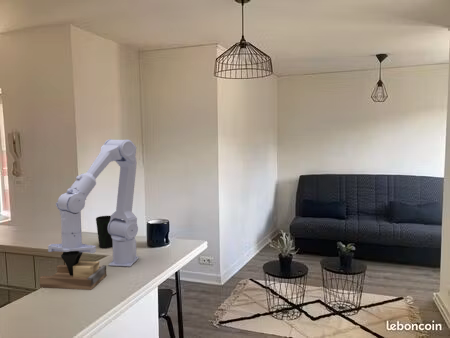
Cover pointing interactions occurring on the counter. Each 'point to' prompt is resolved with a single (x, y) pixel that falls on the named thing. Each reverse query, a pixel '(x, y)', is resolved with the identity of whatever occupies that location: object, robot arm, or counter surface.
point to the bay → (72, 279)
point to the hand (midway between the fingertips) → (72, 274)
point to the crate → (85, 269)
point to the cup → (104, 232)
